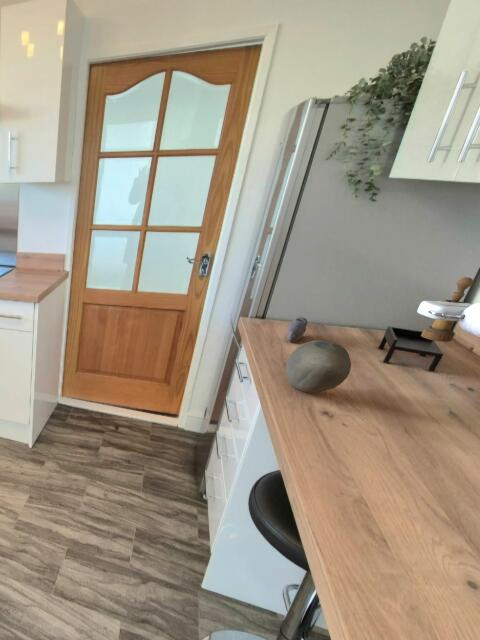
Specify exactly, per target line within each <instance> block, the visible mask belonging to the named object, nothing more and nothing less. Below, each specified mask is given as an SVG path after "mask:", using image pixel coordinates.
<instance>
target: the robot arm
mask: <svg viewBox="0 0 480 640" xmlns="http://www.w3.org/2000/svg"><path fill="white" fill-rule="evenodd" d="M416 312H417V313H418V314H419V315H421V316H424V317H426V318H430V319H433V320H435V319H438V320H447V321H455V322H458V325H459V327H460V329H462V330H463V331H464V332H467V333H468V334H471V335H472V336H475V337H477V338H479V339H480V301H478V302H476V303H469V302H463V303H453V302H445V300H438V301H437V300H423V301H421V302H420V304H419V306H418V308H417V310H416Z"/></svg>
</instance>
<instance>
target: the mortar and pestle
mask: <svg viewBox="0 0 480 640" xmlns="http://www.w3.org/2000/svg"><path fill="white" fill-rule="evenodd" d="M473 283H474V279H473V278H471V277H467V276H462V277H460V278H459V279H457V281H456V289H457V290H455V292H453V293H452V296H451V299H445V300H444V301H445V302H453V303H464V302H463V301H460V300H462V299H463V298H464V297H465V291H466V290H467V289H468V288H470V287H471V286H472V285H473ZM455 322H456V321H447V320H438V319H434V321H433V323H432V325H430V326H427V327H424V328H423V330H422V334H421V336H422V337H424V338H427V339H430V340H434V341H435V342H443V343H449V342H452V341H453V339H454V337H455V335H456V332H454V330H452V328H453V326H454V324H455Z"/></svg>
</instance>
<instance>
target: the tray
mask: <svg viewBox="0 0 480 640" xmlns="http://www.w3.org/2000/svg"><path fill="white" fill-rule="evenodd" d="M422 332H423V330H422V331H421V330H415V329H409V328H403V327H396V326H395V327H394V326H387V328H386V330H385V332H384V335H383V336H382V339H381V341H380V343H379V345H378V350H384V349H385V347H386V344H387V345H388V350H387V353H386V355H385V356H384V358H383V360H382V361H383V363H384V364H389V363H390V361H391V359H392V357H393V354H394V353H395V351H400V352H405V353H411V354H416V355H417V354H418V355H419V356H420V357H424V358H425V357H426V356H427V357H429V356H430V357H433V359H432V362H431V363H430V364H429V367H428V368H427V371H428V372H433V373H434V372H435V370H436V369H437V367H438V365H439V364H440V361H441V360H442V358H443V356H444V353H443V351H442V350H441V349H440V347H439V346H438V344H437V343H436V341H435V340H430V339H427V338H424V337H422V336H421V334H422Z"/></svg>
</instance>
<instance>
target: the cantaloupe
mask: <svg viewBox="0 0 480 640" xmlns="http://www.w3.org/2000/svg"><path fill="white" fill-rule="evenodd" d="M351 369H352V362H351V358H350V354H349V352H348V351H347V349H346V348H345V347H343V345H340V344H338V343H335V342H334V341H333V342H332V341H329V340H319V339H318V340H317V339H316V340H311V341H307V342H304V343H303V344H301V345H298V347H296V348H295V349H294V350H293V351H292V353H291V354H290V355H289V357H288V358H287V360H286V363H285V375H286V379H287V381H288V382H289V384H290V385H291V386H292V387H293V388H294V389H296V390H298V391H300V392H304V393H309V394H312V393H313V394H318V393H322V392H328V391H331V390H333V389H335V388H337V387H338V386H340V385H341V384H342V383H344V382H345V380H346V379H347V378H348V377H349V375H350V372H351Z"/></svg>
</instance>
